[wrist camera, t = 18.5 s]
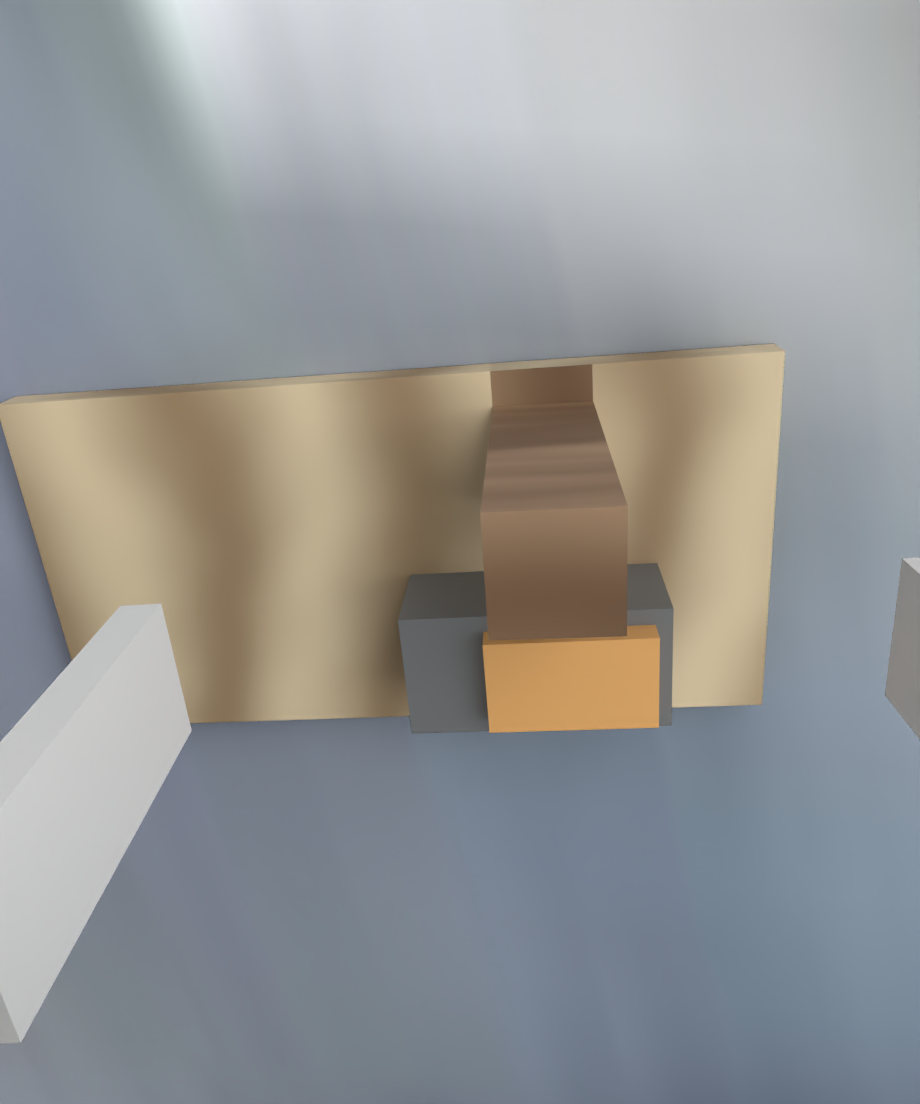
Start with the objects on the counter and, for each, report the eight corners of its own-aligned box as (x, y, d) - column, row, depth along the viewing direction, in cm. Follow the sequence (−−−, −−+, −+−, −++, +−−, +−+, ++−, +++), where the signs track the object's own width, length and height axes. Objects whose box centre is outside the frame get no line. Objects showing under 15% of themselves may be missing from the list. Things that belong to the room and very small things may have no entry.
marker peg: (492, 406, 26) (480, 512, 18) (593, 401, 26) (627, 506, 17) (498, 500, 27) (488, 640, 19) (593, 496, 27) (626, 636, 19)
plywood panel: (105, 707, 33) (91, 726, 32) (16, 396, 28) (-5, 405, 27) (753, 685, 31) (761, 704, 29) (773, 343, 26) (785, 350, 25)
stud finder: (422, 679, 30) (408, 748, 26) (410, 574, 28) (394, 633, 25) (656, 670, 29) (675, 740, 26) (657, 562, 28) (678, 621, 24)
